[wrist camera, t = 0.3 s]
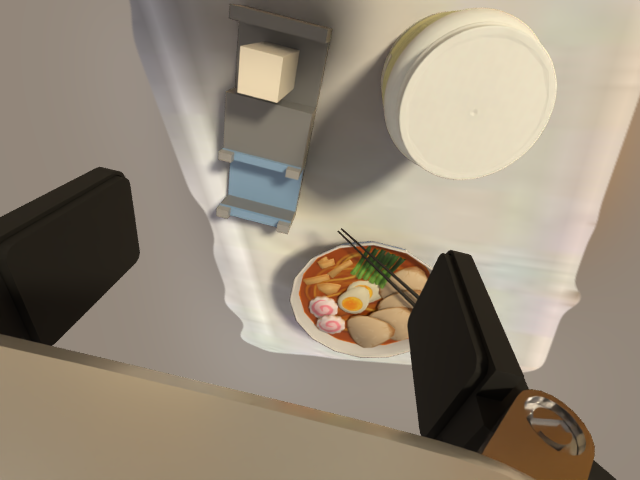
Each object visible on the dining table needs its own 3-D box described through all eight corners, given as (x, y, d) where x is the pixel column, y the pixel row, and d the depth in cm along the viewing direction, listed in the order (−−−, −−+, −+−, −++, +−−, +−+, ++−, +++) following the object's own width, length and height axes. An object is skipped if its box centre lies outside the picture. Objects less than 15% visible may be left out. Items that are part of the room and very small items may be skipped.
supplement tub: (372, 125, 41) (371, 180, 27) (393, 5, 34) (406, -5, 20) (472, 138, 40) (524, 201, 26) (514, 18, 33) (616, 16, 19)
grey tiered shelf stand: (242, 5, 36) (223, 3, 31) (332, 28, 36) (326, 30, 31) (230, 198, 49) (216, 216, 45) (295, 214, 49) (287, 234, 45)
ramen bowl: (266, 263, 55) (251, 296, 49) (372, 179, 45) (372, 207, 38) (363, 344, 63) (362, 382, 57) (473, 289, 53) (488, 329, 46)
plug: (264, 41, 36) (240, 45, 30) (299, 50, 36) (283, 57, 30) (260, 80, 39) (237, 92, 32) (293, 88, 39) (277, 102, 32)
